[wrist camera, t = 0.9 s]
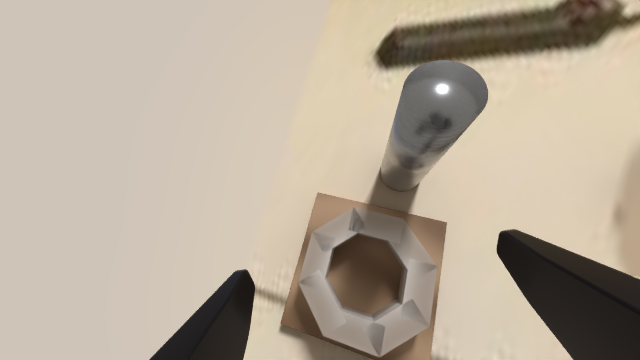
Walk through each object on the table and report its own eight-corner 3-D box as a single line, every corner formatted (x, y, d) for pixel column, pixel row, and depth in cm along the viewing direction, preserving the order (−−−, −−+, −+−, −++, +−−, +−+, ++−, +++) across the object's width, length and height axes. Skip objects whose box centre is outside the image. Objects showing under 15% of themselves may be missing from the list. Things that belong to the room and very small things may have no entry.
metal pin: (430, 174, 22) (507, 92, 11) (399, 199, 22) (444, 141, 11) (401, 146, 23) (442, 48, 12) (372, 169, 23) (386, 91, 12)
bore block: (424, 374, 17) (437, 398, 15) (283, 320, 20) (271, 331, 17) (443, 223, 21) (457, 218, 18) (318, 194, 23) (313, 186, 20)
